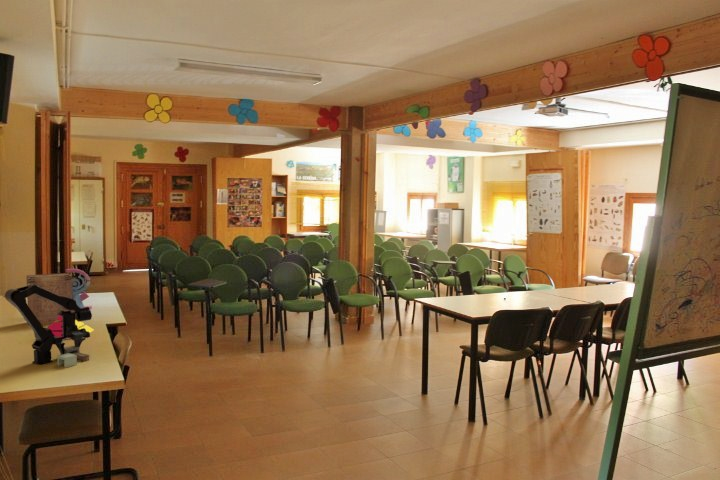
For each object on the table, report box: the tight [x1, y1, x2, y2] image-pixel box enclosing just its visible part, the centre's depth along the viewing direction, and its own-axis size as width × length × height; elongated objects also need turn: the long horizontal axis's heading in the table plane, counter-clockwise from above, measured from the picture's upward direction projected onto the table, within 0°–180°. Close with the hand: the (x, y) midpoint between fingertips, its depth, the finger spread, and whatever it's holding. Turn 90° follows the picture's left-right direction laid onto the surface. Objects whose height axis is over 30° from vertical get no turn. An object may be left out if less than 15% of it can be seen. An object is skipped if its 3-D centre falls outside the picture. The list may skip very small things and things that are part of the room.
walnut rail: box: [71, 352, 90, 363], centre depth 286 cm, size 3×10×2 cm, turn 57°
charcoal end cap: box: [59, 345, 81, 355], centre depth 291 cm, size 6×7×4 cm
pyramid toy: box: [34, 316, 95, 341], centre depth 338 cm, size 25×25×14 cm
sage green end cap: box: [56, 353, 78, 368], centre depth 277 cm, size 6×7×4 cm
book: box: [26, 272, 73, 326], centre depth 374 cm, size 25×9×30 cm, turn 119°
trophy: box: [65, 268, 93, 312], centre depth 407 cm, size 20×17×30 cm
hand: (70, 354), depth 291 cm, fingers closed on charcoal end cap, 7 cm apart
